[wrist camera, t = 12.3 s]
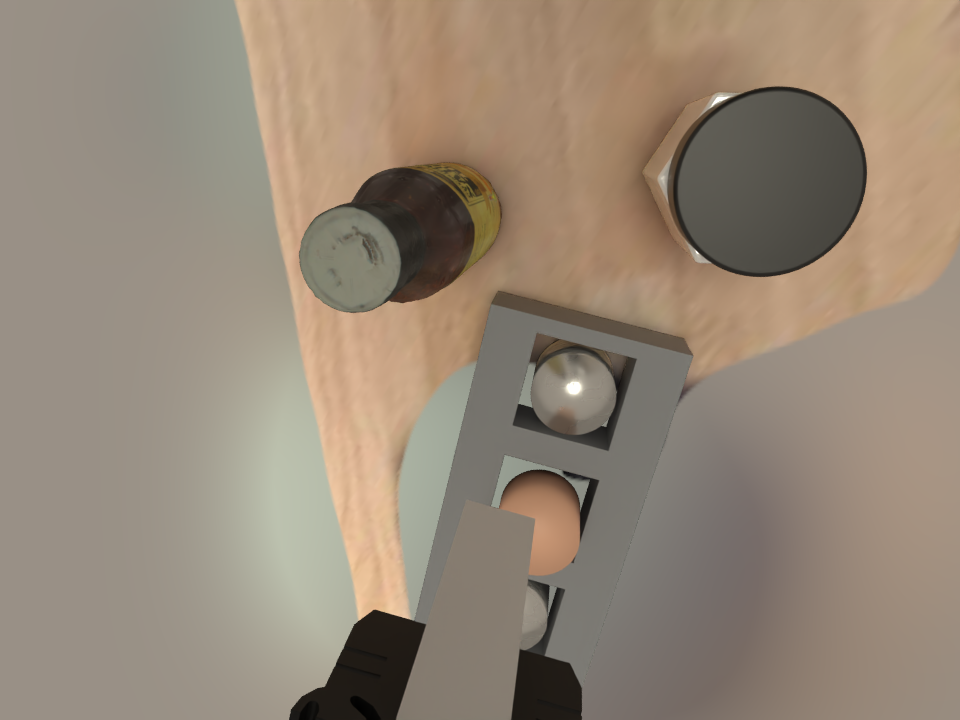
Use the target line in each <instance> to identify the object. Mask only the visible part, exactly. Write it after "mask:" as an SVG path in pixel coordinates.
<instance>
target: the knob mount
mask: <svg viewBox="0 0 960 720" xmlns="http://www.w3.org/2000/svg"><path fill="white" fill-rule="evenodd" d="M537 333H539V334H543V335H547V336H551V337H554V338H558V339H562V340H566V341H570V342H574V343H578V344H581V345H585V346H589V347H593V348H597V349H601V350H605V351H608V352H612V353H616V354H620V355H624V356H628V358H627V361H626V365H625V368H624V371H623V374H622V378H621V381H620V384H619V387H618V391H617V394H616V403H615V407H614V409H613V412H612V413H611V415H610V417H609V420H608V423H607V427H604V426H600V427H599V428H597V429H595V430H594V431H591V432H589V433H585V434H580V435H567V434H562V433H559V432H556V431H554V430H552V429H551V428H549V427H547V426H546V425H545V424H544V423H543V422H542V421H541V420H540V419H539V417H538V416H537V415H536V413H535V411H534V409H533V408H531V407H528V406H524V405H521V404H518V402H519V398H520V395H521V391H522V387H523V383H524V380H525V376H526V372H527V368H528V364H529V361H530V357H531V353H532V349H533V346H534V342H535V338H536V334H537ZM692 358H693V355H692V353H691V351H690V349H689V347H688V345H687V343H686V341H685V340H684V339H683V338H679V337H675V336H671V335H667V334H664V333H660V332H656V331H652V330H648V329H644V328H640V327H636V326H632V325H628V324H625V323H621V322H617V321H613V320H609V319H605V318H601V317H597V316H593V315H590V314H586V313H582V312H578V311H574V310H570V309H566V308H562V307H558V306H554V305H551V304H547V303H543V302H539V301H535V300H531V299H527V298H523V297H519V296H516V295H512V294H508V293H504V292H500V291H498V293H497V294H496V296H495V298H494V300H493V302H492V303H491V307H490V311H489V315H488V319H487V323H486V327H485V332H484V336H483V340H482V344H481V348H480V352H479V356H478V360H477V365H476V369H475V373H474V377H473V381H472V385H471V389H470V394H469V398H468V402H467V406H466V410H465V414H464V419H463V422H462V426H461V431H460V435H459V439H458V443H457V447H456V451H455V455H454V459H453V463H452V468H451V472H450V476H449V480H448V484H447V488H446V493H445V497H444V501H443V505H442V509H441V513H440V517H439V521H438V526H437V529H436V534H435V538H434V542H433V546H432V550H431V555H430V559H429V563H428V567H427V571H426V575H425V579H424V583H423V587H422V591H421V596H420V600H419V604H418V608H417V612H416V616H415V620H414V621H416V622H420V623H423V624H427V621H428V618H429V615H430V612H431V609H432V606H433V602H434V599H435V596H436V593H437V590H438V587H439V584H440V581H441V578H442V574H443V571H444V568H445V565H446V562H447V559H448V556H449V553H450V550H451V546H452V543H453V540H454V537H455V534H456V531H457V528H458V525H459V522H460V518H461V515H462V512H463V509H464V506H465V503H466V500H470V501H473V502H477V503H481V504H484V505H488V506H491V504H492V500H493V496H494V492H495V489H496V485H497V481H498V477H499V474H500V470H501V466H502V463H503V459H504V455H508V456H512V457H515V458H519V459H523V460H526V461H530V462H534V463H538V464H541V465H545V466H549V467H552V468H556V469H560V470H563V471H567V472H571V473H575V474H578V475H582V476H586V477H589V478H591V479H590V482H589V486H588V488H587V492H586V495H585V498H584V502H583V505H582V508H581V511H580V544H579V549H578V551H577V554H576V556H575V557H574V559H573V560H572V562H571V563H570V564H569V565H568V566H566V567H565V568H564V569H562V570H560V571H558V572H556V573H553V574H550V575H544V576H535V575H528V579H530V580H533V581H537V582H541V583H544V584H548V585H551V586H555V587H557V590H556V593H555V596H554V599H553V603H552V606H551V609H550V612H549V616H548V619H547V627H546V631H545V633H544V635H543V637H542V638H541V640H540V641H539V642H538V643H537V644H535V645H534V646H533V647H531V648H529V649H526V650H525V651H529V652H533V653H536V654H540V655H543V656H547V657H550V658H554V659H557V660H561V661H564V662H568V663H570V664H571V666H572V668H573V670H574V672H575V675H576V677H577V679H578V681H579V683H580V685H581V687H583V684H584V681H585V678H586V675H587V672H588V669H589V666H590V663H591V660H592V657H593V654H594V651H595V648H596V645H597V642H598V639H599V636H600V633H601V630H602V627H603V624H604V621H605V618H606V615H607V612H608V609H609V606H610V603H611V600H612V597H613V594H614V591H615V588H616V585H617V582H618V579H619V576H620V573H621V570H622V567H623V564H624V561H625V558H626V555H627V552H628V549H629V547H630V544H631V541H632V537H633V534H634V532H635V529H636V526H637V523H638V520H639V517H640V514H641V511H642V508H643V505H644V502H645V499H646V496H647V492H648V490H649V487H650V484H651V481H652V478H653V475H654V472H655V469H656V466H657V463H658V460H659V457H660V454H661V451H662V448H663V445H664V442H665V439H666V436H667V433H668V430H669V427H670V424H671V421H672V418H673V415H674V412H675V409H676V406H677V403H678V400H679V397H680V394H681V391H682V388H683V385H684V382H685V379H686V376H687V373H688V370H689V367H690V364H691V361H692Z"/></svg>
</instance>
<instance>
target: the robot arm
mask: <svg viewBox="0 0 960 720" xmlns="http://www.w3.org/2000/svg"><path fill="white" fill-rule="evenodd" d="M534 525H535V518H532V517H528V516H524V515H521V514H517V513H513V512H510V511H506V510H502V509H499V508H495V507H491V506H488V505H484V504H481V503H477V502H473V501H470V500H466V503H465V506H464V509H463V512H462V515H461V518H460V522H459V525H458V528H457V531H456V534H455V537H454V540H453V543H452V546H451V550H450V553H449V556H448V559H447V562H446V565H445V568H444V571H443V574H442V578H441V581H440V584H439V587H438V590H437V593H436V596H435V599H434V602H433V606H432V609H431V612H430V615H429V618H428V621H427V624H423V623H420V622H416V621H413V620H409V619H406V618H402V617H399V616H395V615H392V614H388V613H385V612H381V611H378V610H373V611H372V612H370V613H369V614H368V615H366V616H365V617H364V618H362V619H361V620H360V621H358V622H357V623H356V624H354V626H353V628H352V631H351V633H350V635H349V637H348V639H347V641H346V643H345V646H344V649H343V650H342V652H341V654H340V656H339V658H338V660H337V663H336V666H335V667H334V669H333V671H332V673H331V675H330V677H329V679H328V681H327V684H326V686H325V687H322V688H317V689H315V690H313V691H311V692H310V693H308V694H306V695H304V696H302V697H301V698H300V699H299V701H298V702H297V703H296V704H295V705H294V707H293V708H292V709H291V714H290V718H289V720H582V716H581V712H582V687H581V685H580V683H579V681H578V679H577V677H576V675H575V672H574V670H573V668H572V666H571V664H570V663H568V662H564V661H561V660H557V659H554V658H550V657H547V656H543V655H540V654H536V653H533V652H529V651H525V650H522V649H520V641H521V633H522V625H523V616H524V608H525V600H526V591H527V583H528V575H529V567H530V558H531V550H532V542H533V534H534Z"/></svg>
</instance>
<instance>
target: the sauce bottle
mask: <svg viewBox="0 0 960 720" xmlns="http://www.w3.org/2000/svg"><path fill="white" fill-rule="evenodd" d="M501 216H502V213H501V205H500V202H499V200H498V197H497V195H496V193H495V191H494V189H493V188H492V186H491V183H490V182H489V181H488V180H487V179H486V178H484V177H483V176H482V175H481V174H480V173H478V172H477V171H475V170H473V169H472V168H470V167H467V166H465V165H461V164H456V163H437V164H428V165H416V166H408V167H400V168H393V169H388V170H385V171H382V172H379V173H377V174H375V175H374V176H372V177H371V178H369V179H368V180H367V181H366V182H365V183H364V184H363V185H362V187H361V188H360V189H359V191H358V192H357V194H356V195H355V197H354V199H353V200H352V202H351V203H347V204H343V205H339V206H337V207H335V208H332V209H329V210H327V211H325V212H323V213H322V214H320V215H319V216H317V217H316V218H315V219H314V220H313V221H312V223H311V224H310V225H309V227H308V229H307V230H306V232H305V234H304V236H303V239H302V241H301V248H300V251H299V258H300V267H301V271H302V274H303V277H304V279H305V281H306V283H307V285H308V287H309V288H310V289H311V290H312V291H313V293H314V295H315V296H316V297H317V298H319V299H320V300H321V301H322V302H323V303H325V304H326V305H328V306H330V307H332V308H334V309H336V310H339V311H343V312H351V313H356V312H367V311H370V310H373V309H375V308H377V307H379V306H381V305H382V304H384V303H386V302H387V301H391V302H399V303H405V302H411V301H415V300H420V299H423V298H427V297H429V296H431V295H433V294H435V293H436V292H438V291H439V290H441V289H443V288H445V287H446V286H448V285H449V284H451V283H452V282H453V281H455V280H456V279H457V278H458V277H459V276H460V275H462V274H463V273H464V272H465V271H466V270H467V269H468V268H470V267H471V266H472V265H473V264H474V263H476V262H477V261H478V260H479V259H480V258H482V257H483V256H484V255H485V253H486V252H487V251H488V250H489V249H490V247H491V246H492V244H493V242H494V241H495V238H496V236H497V234H498V230H499V226H500V222H501Z"/></svg>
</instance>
